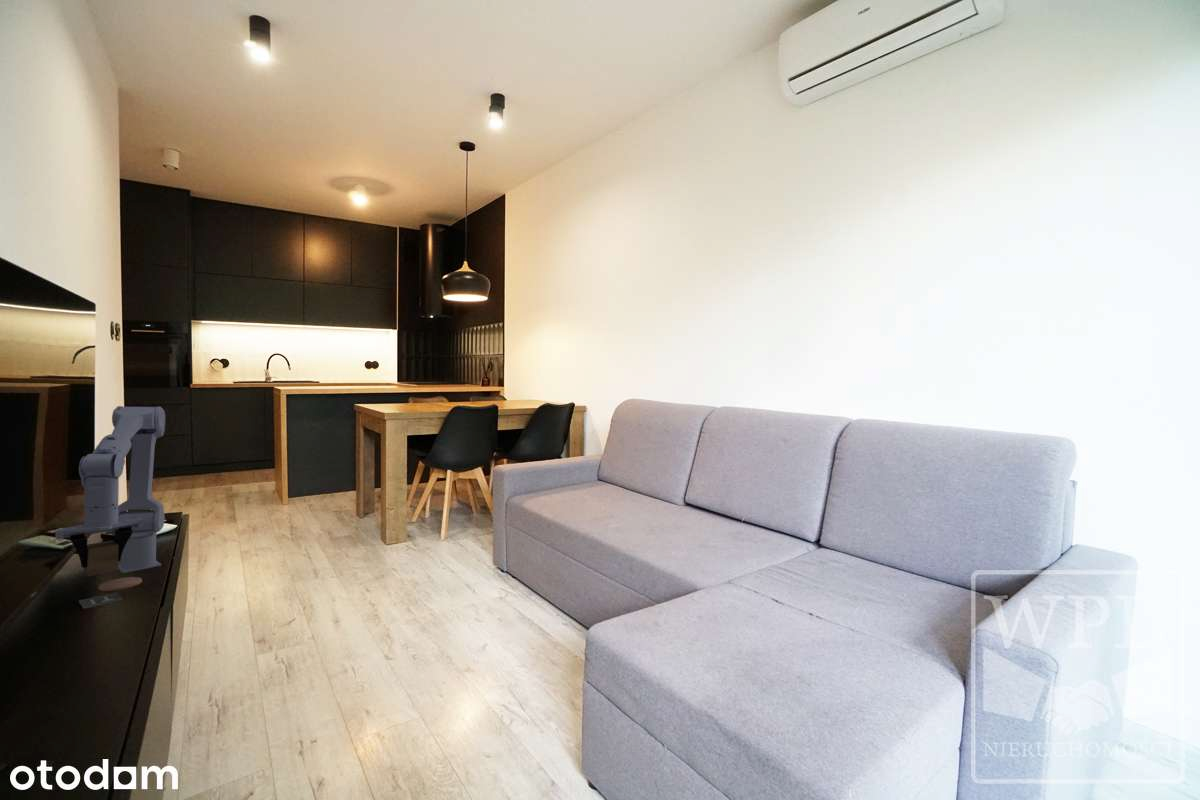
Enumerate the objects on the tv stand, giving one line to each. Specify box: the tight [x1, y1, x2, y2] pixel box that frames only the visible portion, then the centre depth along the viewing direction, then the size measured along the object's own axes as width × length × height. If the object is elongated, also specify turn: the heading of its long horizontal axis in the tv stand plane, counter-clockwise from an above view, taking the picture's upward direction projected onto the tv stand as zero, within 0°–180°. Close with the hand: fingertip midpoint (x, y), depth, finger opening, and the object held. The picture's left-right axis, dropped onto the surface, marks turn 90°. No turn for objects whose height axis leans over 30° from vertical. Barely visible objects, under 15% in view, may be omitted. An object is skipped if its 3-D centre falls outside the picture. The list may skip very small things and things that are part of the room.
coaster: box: [98, 576, 143, 592], centre depth 129 cm, size 8×8×1 cm
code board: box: [78, 591, 123, 610], centre depth 120 cm, size 8×8×1 cm
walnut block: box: [83, 539, 119, 577], centre depth 120 cm, size 5×5×6 cm
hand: (101, 563), depth 120 cm, fingers closed on walnut block, 5 cm apart
